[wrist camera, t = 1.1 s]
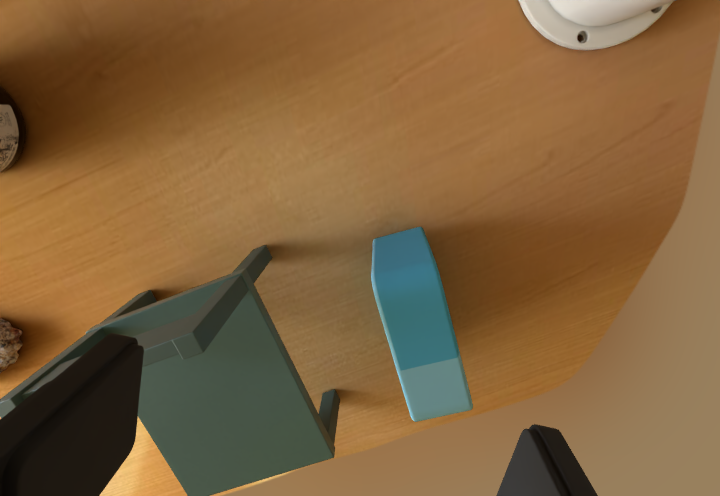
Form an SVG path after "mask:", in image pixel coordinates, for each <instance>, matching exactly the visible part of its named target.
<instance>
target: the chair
mask: <svg viewBox="0 0 720 496" xmlns="http://www.w3.org/2000/svg"><path fill="white" fill-rule="evenodd" d="M271 259H272V256H271V254H270V252H269V250H268V248H267V246H266V245H264V246H262V247H259V248H256V249H254V250H252V252H251V253H250V254H249V255H248V256H247V257H246V258H245V259H244V260H243V262H242V263H241V264H240V265H239V266H238V267H237V268H236V269H235V270H234V271H233V273H231V274H229V275H226V276H224V277H221V278H218V279H216V280H213V281H210V282H208V283H205V284H203V285H200V286H197V287H195V288H192V289H189V290H187V291H184V292H182V293H179V294H176V295H174V296H171V297H169V298H166V299H163V300H161V301H158V302H157V301H156V299H155V297H154V295H153V294H152V292H151V290H148V291H146V292H143V293H140V294H138V295H137V296H135V297H134V298H133V299H132V300H130V301H129V302H128V303H126V304H125V305H124V306H122V307H121V308H120V309H118V310H117V311H116V312H114V313H113V314H112V315H111V316H109V317H108V318H107V319H105V320H104V321H103V322H101V323H100V324H98V325H95V326H94V327H92V328H91V329H90V330H88V331H87V332H86V334H85V335H84V336H83V337H81V338H80V339H79V340H77V341H76V342H75V343H74V344H72V345H71V346H70V347H68V348H67V349H66V350H64V351H63V352H62V353H60V354H59V355H58V356H56V357H55V358H54V359H52V360H51V361H50V362H49V363H47V364H46V365H45V366H43V367H42V368H41V369H39V370H38V371H37V372H35V373H34V374H33V375H31V376H30V377H29V378H28V379H26V380H25V381H24V382H22V383H21V384H20V385H18V386H17V387H16V388H14V389H13V390H12V391H10V392H9V393H8V394H6V395H5V396H4V397H3V398H1V399H0V417H1V418H3V417H4V416H5V415H7V414H8V413H9V412H10V411H11V410H13V409H14V408H15V407H16V406H18V405H19V404H20V403H21V402H23V401H24V400H25V399H26V398H27V397H29V396H30V395H31V394H32V393H34V392H35V391H36V390H37V389H39V388H40V387H41V386H42V385H44V384H46V383H47V382H50V381H52V380H53V379H54V378H56V377H57V376H58V375H59V374H60V373H62V372H63V371H64V370H65V369H67V368H68V367H69V366H70V365H71V364H73V363H74V362H75V361H76V360H78V359H79V358H80V357H81V356H82V355H84V354H85V353H86V352H87V351H88V350H90V349H91V348H92V347H93V346H95V345H96V344H97V343H98V342H99V341H101V340H102V339H103V338H104V337H106V336H107V335H108V334H110V333H115V334H120V335H124V336H129V337H133V338H136V339H137V341H138V345H141V346H143V348H144V355H143V365H142V375H141V386H140V396H139V406H138V417H139V418H140V420H141V422H142V423H143V425H144V426H145V428H146V430H147V431H148V433H149V434H150V436H151V438H152V439H153V441H154V442H155V444H156V446H157V447H158V449H159V450H160V452H161V453H162V455H163V457H164V458H165V460H166V461H167V463H168V465H169V466H170V468H171V469H172V471H173V473H174V474H175V476H176V477H177V479H178V481H179V482H180V484H181V485H182V487H183V489H184V490H185V492H186V493H187V495H188V496H210V495H213V494H216V493H220V492H223V491H226V490H229V489H233V488H236V487H239V486H242V485H246V484H249V483H252V482H256V481H259V480H262V479H265V478H269V477H272V476H275V475H278V474H282V473H285V472H288V471H292V470H295V469H298V468H301V467H305V466H308V465H311V464H315V463H318V462H321V461H324V460H328V459H331V458H334V453H335V447H334V441H335V433H336V426H337V418H338V411H339V403H340V399H339V397H338V395H337V393H336V391H335V389H334V390H331V391H328V392H325V393H323V394H322V400H321V405H320V410H319V414H318V412H317V410H316V408H315V406H314V404H313V402H312V400H311V398H310V396H309V394H308V392H307V390H306V388H305V386H304V384H303V382H302V380H301V378H300V376H299V374H298V372H297V370H296V368H295V366H294V364H293V362H292V360H291V358H290V356H289V354H288V352H287V350H286V348H285V346H284V344H283V342H282V340H281V338H280V336H279V334H278V332H277V330H276V328H275V326H274V324H273V322H272V320H271V318H270V316H269V314H268V312H267V310H266V308H265V306H264V304H263V302H262V300H261V298H260V296H259V294H258V292H257V290H256V288H255V286H254V282H255V281H256V280H257V278H258V277H259V276H260V274H261V273H262V271H263V270H264V269H265V267H266V266H267V265H268V263H269V262H270V260H271Z"/></svg>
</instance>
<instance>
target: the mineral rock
mask: <svg viewBox="0 0 720 496" xmlns="http://www.w3.org/2000/svg"><path fill="white" fill-rule="evenodd" d="M22 332H23V331H21V330H20V329H16V328H13V327H12V326H11V324H10V323H9V322H8V321H6V320H4V319H1V318H0V373H1V372H2V371H3V370H6V368H7V367H8V365H9V364H12V363H15V362H16V360H17V358H18V356H19V354H18V353H17V351H18V350H19V349H20V347H21V346H23V345H22V341H20V340H19V337H20V335H21V334H22Z"/></svg>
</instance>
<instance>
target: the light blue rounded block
mask: <svg viewBox="0 0 720 496" xmlns="http://www.w3.org/2000/svg"><path fill="white" fill-rule="evenodd" d="M371 280H372V286H373V291H374V296H375V299H376V303H377V306H378V310H379V313H380V316H381V320H382V323H383V326H384V330H385V333H386V336H387V340H388V343H389V346H390V350H391V353H392V356H393V360H394V363H395V366H396V370H397V373H398V376H399V380H400V383H401V386H402V389H403V393H404V396H405V399H406V403H407V406H408V409H409V413H410V416H411V418H412V420H413V421H415V422H417V421H422V420H427V419H431V418H436V417H441V416H445V415H450V414H455V413H459V412H464V411H469V410H471V409H472V408H473V404H472V399H471V395H470V392H469V388H468V384H467V380H466V376H465V372H464V368H463V364H462V360H461V356H460V352H459V348H458V344H457V340H456V336H455V332H454V328H453V325H452V321H451V317H450V313H449V309H448V305H447V301H446V297H445V293H444V289H443V285H442V281H441V278H440V274H439V271H438V267H437V264H436V261H435V258H434V256H433V253H432V251H431V248H430V245H429V243H428V240H427V238H426V235H425V232H424V230H423V228H422V227H416V228H413V229H409V230H405V231H401V232H398V233H394V234H390V235H387V236H383V237H379V238H375V239H374V240H373V251H372V274H371Z"/></svg>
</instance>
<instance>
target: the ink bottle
mask: <svg viewBox="0 0 720 496" xmlns="http://www.w3.org/2000/svg"><path fill="white" fill-rule="evenodd" d="M25 139H26V129H25V124H24V120H23V117H22V115H21V112H20V110H19V109H18V107H17V105H16V104H15V102H14V101H13V99H12V98H11V97H10V95H9V94H8V93H7V92H6V91H5V90H4V89H3V88H2V87H1V86H0V173H2V172H4V171H6V170H8V169H9V168H10V167H12V166H13V165H14V164H15V163H16V161H17V160H18V159H19V157H20V155H21V153H22V151H23V148H24V145H25Z"/></svg>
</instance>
